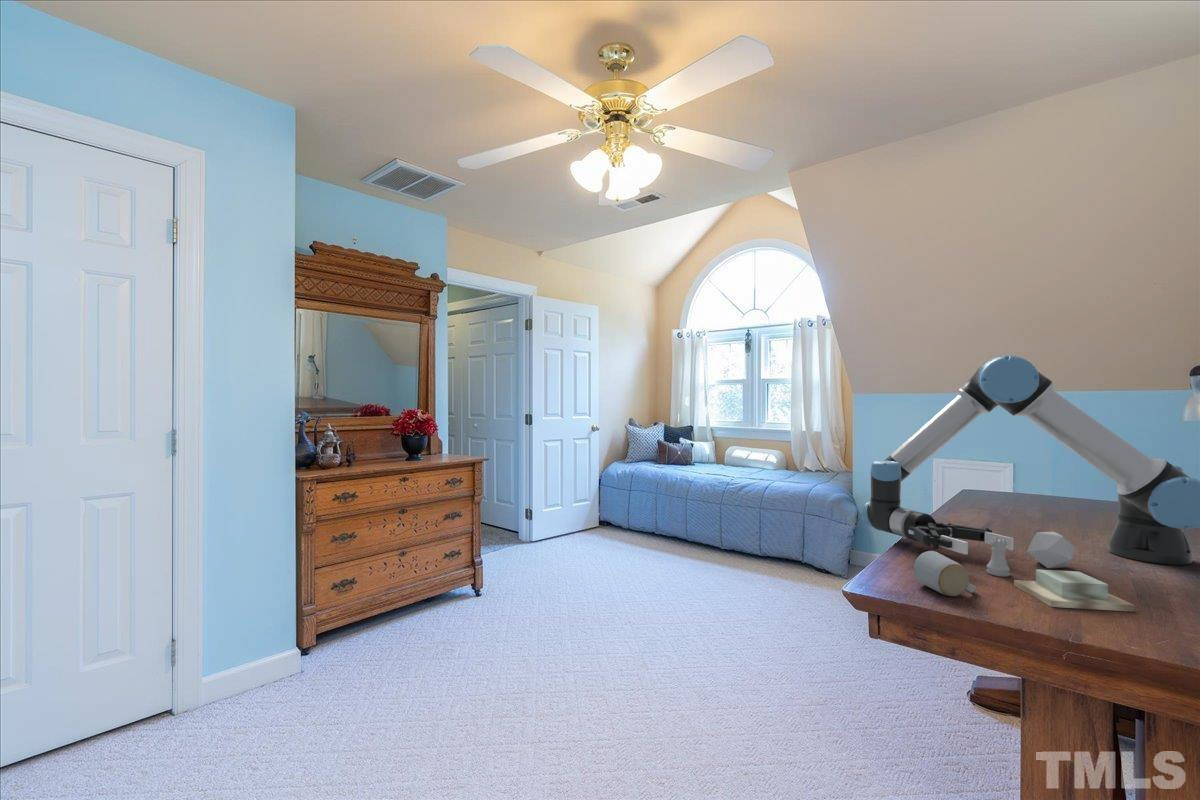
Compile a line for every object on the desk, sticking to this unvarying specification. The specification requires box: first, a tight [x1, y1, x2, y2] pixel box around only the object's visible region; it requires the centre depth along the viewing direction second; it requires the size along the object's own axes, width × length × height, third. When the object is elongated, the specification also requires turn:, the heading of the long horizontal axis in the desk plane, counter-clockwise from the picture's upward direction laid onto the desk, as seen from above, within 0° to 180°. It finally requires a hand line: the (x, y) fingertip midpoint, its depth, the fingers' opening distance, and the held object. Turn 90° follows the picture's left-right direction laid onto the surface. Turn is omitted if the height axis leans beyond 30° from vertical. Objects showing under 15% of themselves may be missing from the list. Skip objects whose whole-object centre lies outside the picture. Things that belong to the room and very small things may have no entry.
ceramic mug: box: [913, 550, 977, 597], centre depth 115 cm, size 10×8×7 cm
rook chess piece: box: [985, 537, 1011, 578], centre depth 127 cm, size 4×4×8 cm
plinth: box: [1013, 569, 1135, 612], centre depth 112 cm, size 14×12×4 cm
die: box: [1026, 531, 1076, 569], centre depth 133 cm, size 8×9×10 cm
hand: (990, 546), depth 128 cm, fingers open, 13 cm apart
